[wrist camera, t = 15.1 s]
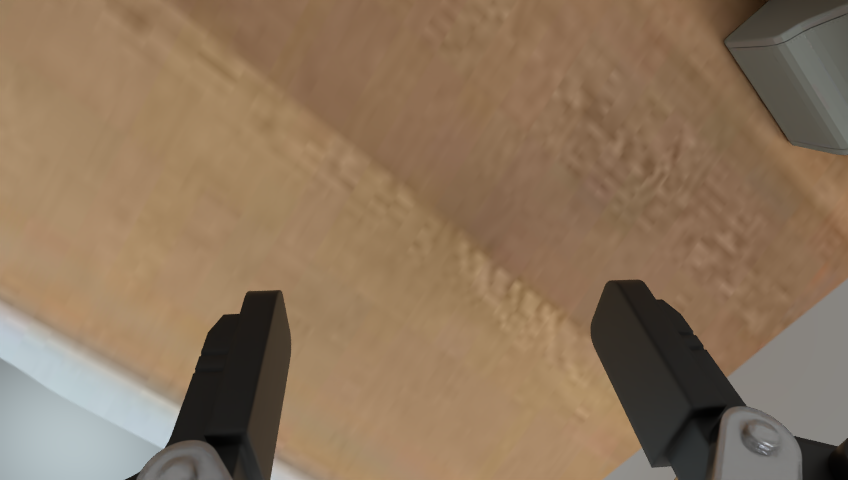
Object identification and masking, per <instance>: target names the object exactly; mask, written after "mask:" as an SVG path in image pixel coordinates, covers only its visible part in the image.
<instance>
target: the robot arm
mask: <svg viewBox="0 0 848 480" xmlns="http://www.w3.org/2000/svg"><path fill="white" fill-rule="evenodd" d="M591 339H592V343H593V345H594V348H595V350H596V352H597V354H598V356H599V358H600V360H601V362H602V364H603V367H604V369H605V371H606V373H607V375H608V377H609V379H610V381H611V383H612V385H613V387H614V390H615V392H616V394H617V396H618V398H619V400H620V402H621V404H622V406H623V408H624V410H625V413H626V415H627V417H628V419H629V421H630V423H631V425H632V427H633V429H634V431H635V433H636V436H637V438H638V440H639V442H640V444H641V446H642V448H643V450H644V452H645V454H646V456H647V458H648V461H649V462H650V464H651V467H652V468H653V467H667V466H671V467H672V468H673V470H674V472H675V474H676V478H675V479H674V480H848V438H847V439H846V440H845V441H844V442H843V443H842V444H841V445H839V446H834V445H829V444H825V443H821V442H817V441H813V440H808V439H804V438H800V437H796V436H793V435H792V434H791V433H790V432H789V430H788V429H787V428H786V427H785V426H784V425H782V424H781V423H780V422H779V421H777V420H776V419H775V418H773V417H772V416H770V415H768V414H766V413H764V412H762V411H760V410H757V409H754V408H750V407H747V406H746V404H745V403H744V402H743V401H742V399H741V398H740V396H739V395H738V393H737V392H736V391H735V389H734V388H733V386H732V385H731V384H730V382H729V381H728V379H727V378H726V377H725V375H724V374H723V372H722V371H721V370H720V368H719V367H718V365H717V364H716V363H715V361H714V360H713V358H712V357H711V356H710V354H709V353H708V351H707V350H704V348H703V344H702V343H701V342H700V340H699V339H698V337H697V336H696V335H694V334H693V330H692V329H691V328H690V326H689V325H688V323H687V322H686V321H685V319H684V318H683V316H682V315H681V314H680V313H679V312H677V311H676V310H675V309H674V308H672V307H671V306H670V305H669V304H667V303H666V302H665V301H664V300H656V299H655V297H654V296H653V294H652V293H651V291H650V290H649V289H648V287H647V286H646V284H645V283H644V282H643V281H641V280H612V281H608V282H607V283H606V285H605V287H604V290H603V292H602V295H601V298H600V300H599V303H598V306H597V308H596V311H595V314H594V316H593V319H592V322H591ZM290 356H291V335H290V329H289V324H288V319H287V314H286V309H285V303H284V298H283V294H282V292H281V290H273V291H248V292H247V293H246V295H245V298H244V302H243V305H242V308H241V312H240V314H228V315H223V316H222V317H221V318H220V320H219V321H218V322H217V323H216V324H215V325H214V326H213V327H212V329H211V330H210V331H209V332H208V334H207V337H206V340H205V343H204V346H203V348H202V351H201V356H200V357H199V360H198V362H197V365H196V368H195V373H194V374H193V376H192V379H191V382H190V385H189V388H188V390H187V393H186V396H185V399H184V402H183V404H182V407H181V410H180V413H179V416H178V418H177V421H176V424H175V427H174V430H173V432H172V435H171V437H170V440H169V442H168V443H167V445H166V447H165V448H164V449H163V450H161V451H160V452H158V453H157V454H156V455H155V456H153V457H152V458H151V459H150V460H149V461H148V462H147V464H146V465H145V466H144V467H143V469H142V470H141V471H140V472H139V473H137V474H135V475H134V476H132V477H130V478H128V479H125V480H270V477H271V471H272V465H273V459H274V453H275V447H276V441H277V435H278V429H279V423H280V417H281V411H282V405H283V399H284V393H285V387H286V381H287V375H288V369H289V363H290Z"/></svg>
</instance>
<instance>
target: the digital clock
mask: <svg viewBox="0 0 848 480" xmlns="http://www.w3.org/2000/svg"><path fill="white" fill-rule="evenodd" d="M724 43H725V44H726V46H727V47H728V49H729V50H730V52H731V53H732V55H733V56H734V58H735V59H736V61H737V63H738V64H739V66H740V67H741V69H742V70H743V72H744V73H745V75H746V76H747V78H748V79H749V81H750V82H751V84H752V85H753V87H754V88H755V90H756V91H757V93H758V94H759V96H760V97H761V99H762V100H763V102H764V103H765V105H766V106H767V108H768V109H769V111H770V112H771V114H772V115H773V117H774V118H775V120H776V122H777V123H778V125H779V126H780V128H781V129H782V131H783V132H784V134H785V135H786V137H787V138H788V140H789V141H790V143H791V144H792V145H795V146H799V147H804V148H809V149H813V150H818V151H823V152H828V153H832V154H839V155H848V0H769V1H768V2H767V3H766V4H765V5H763V6H762V7H761V8H760V9H759V10H758V11H757V12H755V13H754V14H753V15H752V16H751V17H750V18H749V19H747V20H746V21H745V22H744V23H743V24H742V25H741V26H739V27H738V28H737V29H736V30H735V31H734V32H733V33H731V34H730V35H729V36H728V37H727V38H726V39H725V40H724Z"/></svg>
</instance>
